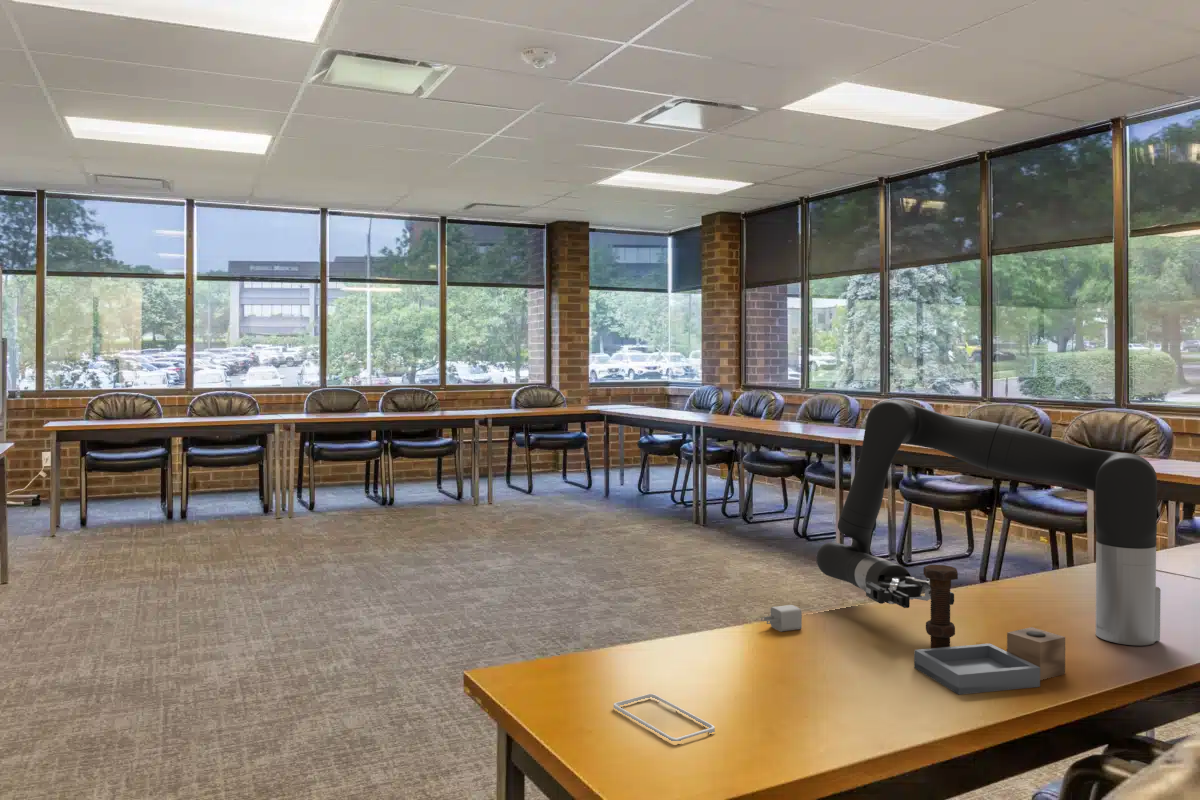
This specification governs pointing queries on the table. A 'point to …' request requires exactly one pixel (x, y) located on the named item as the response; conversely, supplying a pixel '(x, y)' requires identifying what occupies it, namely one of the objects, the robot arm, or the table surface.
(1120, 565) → the robot arm
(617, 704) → the phone case
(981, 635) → the table surface
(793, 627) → the usb wall charger
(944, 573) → the bolt
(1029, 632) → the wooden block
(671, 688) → the table surface
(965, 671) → the tray
